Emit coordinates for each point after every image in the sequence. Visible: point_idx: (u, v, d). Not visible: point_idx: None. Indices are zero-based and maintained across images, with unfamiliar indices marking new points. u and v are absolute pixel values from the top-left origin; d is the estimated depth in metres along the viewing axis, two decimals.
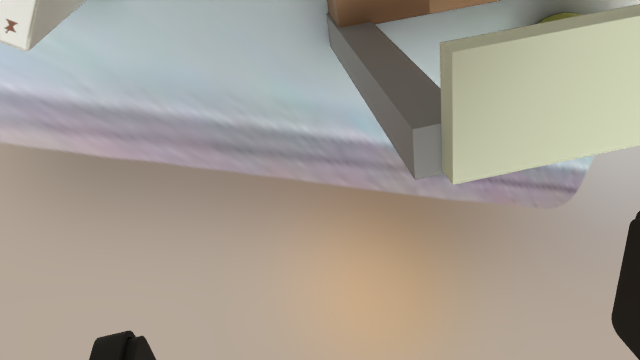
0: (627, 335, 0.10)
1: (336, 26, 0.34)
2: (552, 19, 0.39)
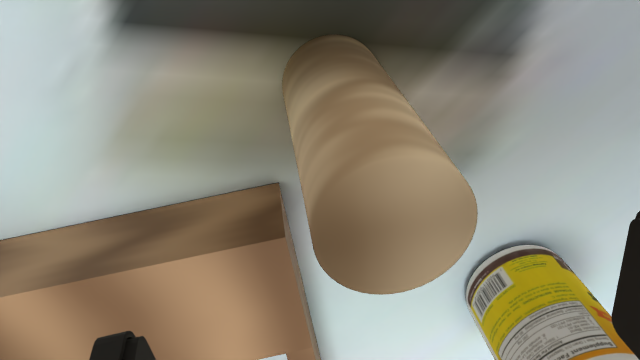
0: (627, 335, 0.10)
1: None
2: None
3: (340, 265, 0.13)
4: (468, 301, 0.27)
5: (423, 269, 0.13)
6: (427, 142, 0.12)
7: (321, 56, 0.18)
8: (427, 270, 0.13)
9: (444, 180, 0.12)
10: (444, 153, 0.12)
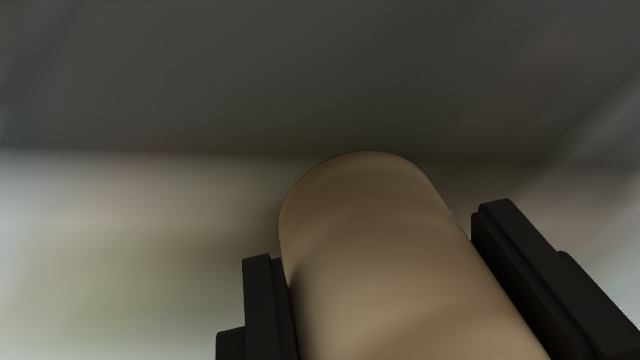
0: None
1: None
2: None
3: None
4: None
5: None
6: None
7: (351, 213, 0.10)
8: None
9: None
10: None
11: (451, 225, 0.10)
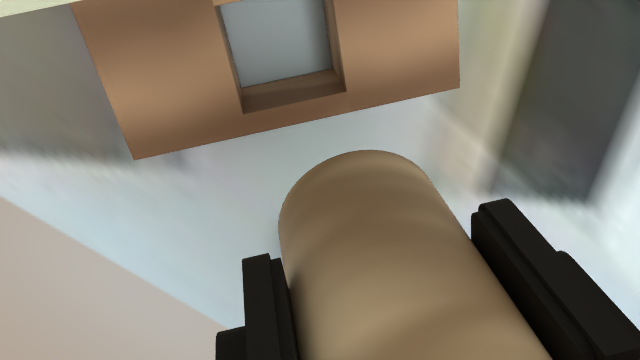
0: None
1: None
2: None
3: None
4: None
5: None
6: None
7: (351, 212, 0.10)
8: None
9: None
10: None
11: (452, 224, 0.10)
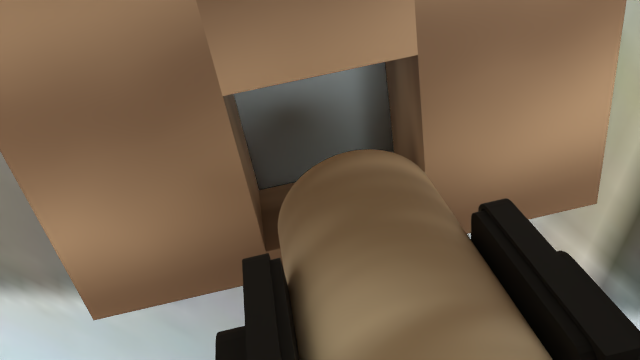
0: None
1: None
2: None
3: None
4: None
5: None
6: None
7: (350, 211, 0.10)
8: None
9: None
10: None
11: (451, 223, 0.10)
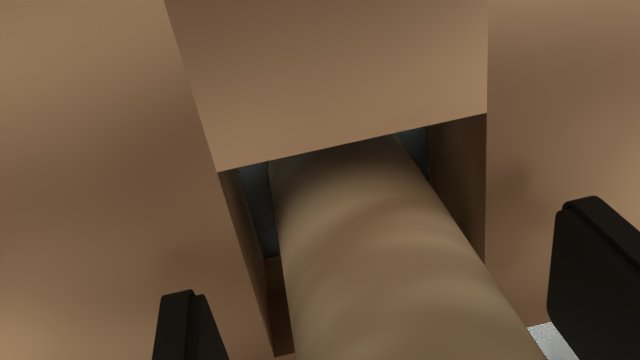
0: (558, 322, 0.11)
1: None
2: None
3: None
4: None
5: None
6: None
7: None
8: None
9: None
10: None
11: (403, 155, 0.12)
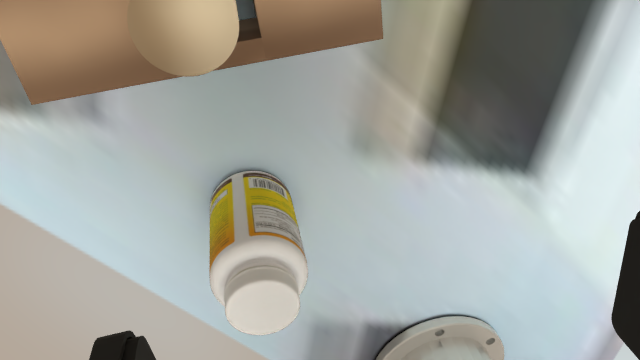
0: (627, 335, 0.10)
1: None
2: None
3: (151, 49, 0.19)
4: (244, 174, 0.33)
5: (209, 57, 0.20)
6: None
7: None
8: (212, 58, 0.20)
9: None
10: None
11: None
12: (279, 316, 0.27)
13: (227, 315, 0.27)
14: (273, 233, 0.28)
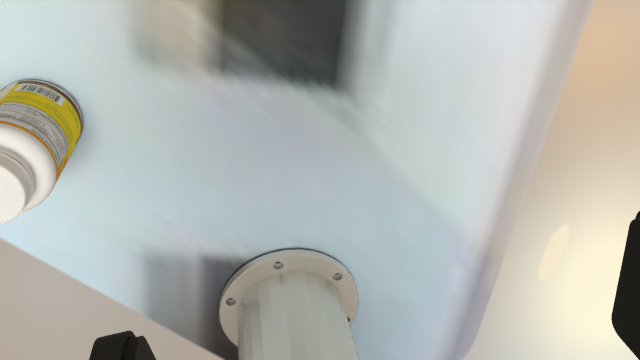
0: (627, 335, 0.10)
1: None
2: None
3: None
4: (20, 82, 0.33)
5: None
6: None
7: None
8: None
9: None
10: None
11: None
12: (3, 202, 0.27)
13: None
14: (6, 122, 0.28)
